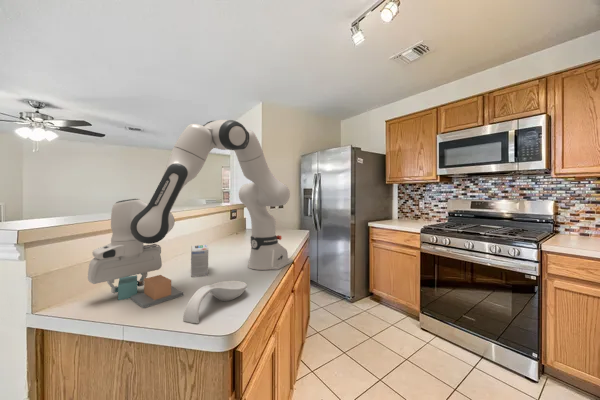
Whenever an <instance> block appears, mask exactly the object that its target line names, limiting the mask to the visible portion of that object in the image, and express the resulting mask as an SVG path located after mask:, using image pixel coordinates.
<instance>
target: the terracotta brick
mask: <svg viewBox="0 0 600 400" xmlns="http://www.w3.org/2000/svg"><path fill="white" fill-rule="evenodd" d="M171 286H172V279H170V278H168V277H166V276H163V275H162V274H158V275H155V276H153V275H152V276H150V277H146V278H145V279H144V286H143V292H144V293H145V294H146V295H148V296H149V297H151V298H152V299H154V300H156V299H159V298H162V297H166V296H169V295H171Z"/></svg>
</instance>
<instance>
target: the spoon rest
mask: <svg viewBox="0 0 600 400" xmlns="http://www.w3.org/2000/svg"><path fill="white" fill-rule="evenodd" d="M247 286H248V285H247V283H246V282H244V281H240V280H225V281H224V280H223V281H218V282H214V283H211V284H209V285H204V286H201V287H199V288H198V289H197V290H196V291H195V292H194V294H193V295H192V296H191V297H190V299H189V301H188V302H187V304H186V306H185V309H184V312H183V317H182V320H183V322H185V323H191V324H199V322H200V312H199V311H200V306H201V303H202V301H203V299H204V298H205V297H206V295H208V293H210V294H211V295H212V296H214V297H215V298H216V299H217V300H219V301H223V302H228V301H229V302H230V301H232V300H235V299H237V298H238V297H240V296H241V295H242V294H243V293H244V292H245V290H246V289H247Z"/></svg>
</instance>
